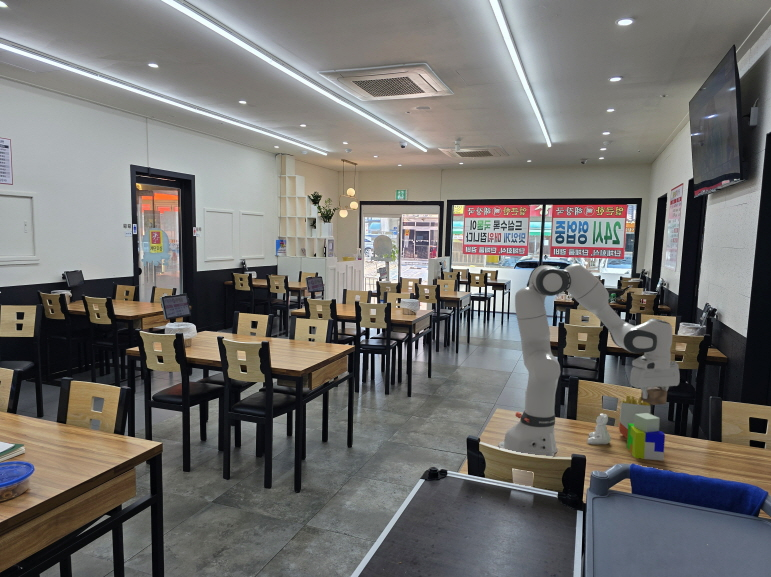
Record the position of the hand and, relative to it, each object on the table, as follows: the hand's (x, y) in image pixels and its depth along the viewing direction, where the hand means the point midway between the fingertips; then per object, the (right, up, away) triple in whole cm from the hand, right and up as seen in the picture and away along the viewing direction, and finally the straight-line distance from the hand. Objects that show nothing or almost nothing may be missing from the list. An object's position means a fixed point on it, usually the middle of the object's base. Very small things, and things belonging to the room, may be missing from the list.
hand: (653, 397), depth 191 cm
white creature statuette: (-15, -21, +14) cm, 29 cm away
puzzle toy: (-2, -22, +3) cm, 23 cm away
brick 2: (-2, -12, +2) cm, 13 cm away
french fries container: (+2, -21, +19) cm, 28 cm away
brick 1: (0, -2, 0) cm, 2 cm away
